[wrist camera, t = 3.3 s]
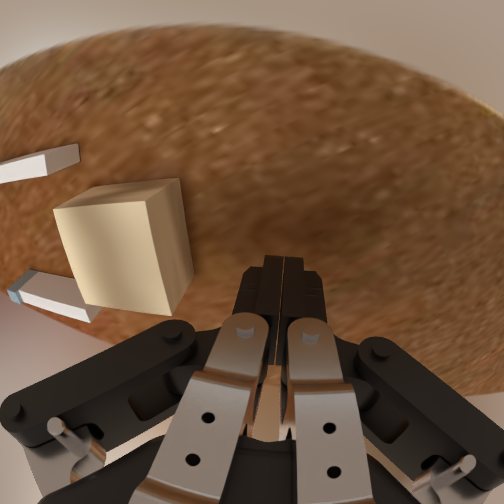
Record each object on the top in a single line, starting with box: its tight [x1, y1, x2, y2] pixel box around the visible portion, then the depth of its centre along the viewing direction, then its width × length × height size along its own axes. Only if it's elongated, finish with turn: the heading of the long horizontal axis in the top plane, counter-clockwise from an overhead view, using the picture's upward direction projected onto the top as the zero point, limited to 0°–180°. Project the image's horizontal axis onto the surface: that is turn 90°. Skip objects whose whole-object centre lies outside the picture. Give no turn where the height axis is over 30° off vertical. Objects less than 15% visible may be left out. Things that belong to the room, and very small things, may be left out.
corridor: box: [0, 143, 103, 323], centre depth 16 cm, size 10×11×3 cm
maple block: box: [53, 178, 195, 316], centre depth 15 cm, size 6×6×4 cm
